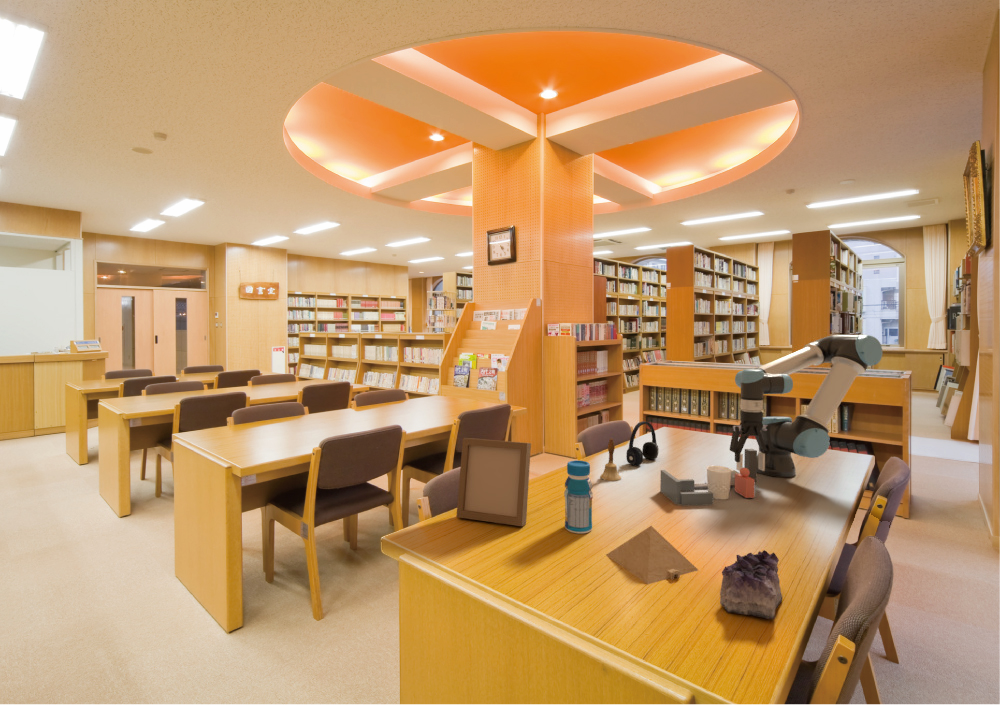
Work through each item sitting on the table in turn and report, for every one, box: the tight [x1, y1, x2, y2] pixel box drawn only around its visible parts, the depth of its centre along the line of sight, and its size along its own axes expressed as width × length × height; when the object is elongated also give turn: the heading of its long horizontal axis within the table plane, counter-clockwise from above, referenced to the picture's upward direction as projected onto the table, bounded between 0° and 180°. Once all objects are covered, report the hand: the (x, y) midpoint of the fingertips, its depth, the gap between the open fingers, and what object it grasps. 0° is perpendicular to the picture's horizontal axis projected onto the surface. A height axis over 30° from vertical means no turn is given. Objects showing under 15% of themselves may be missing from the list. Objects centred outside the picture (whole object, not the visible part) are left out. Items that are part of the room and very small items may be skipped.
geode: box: [719, 549, 783, 620], centre depth 105 cm, size 20×12×10 cm, turn 141°
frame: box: [659, 469, 714, 507], centre depth 168 cm, size 12×15×8 cm
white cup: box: [706, 465, 732, 500], centre depth 169 cm, size 8×8×10 cm
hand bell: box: [600, 438, 622, 482], centre depth 191 cm, size 8×8×16 cm
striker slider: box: [730, 448, 758, 499], centre depth 174 cm, size 12×15×14 cm
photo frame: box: [456, 437, 532, 527], centre depth 153 cm, size 15×22×25 cm
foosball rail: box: [694, 483, 735, 490], centre depth 179 cm, size 30×3×1 cm, turn 94°
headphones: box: [626, 421, 659, 467], centre depth 213 cm, size 20×7×18 cm, turn 133°
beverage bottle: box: [563, 459, 594, 535], centre depth 142 cm, size 8×8×20 cm
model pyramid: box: [605, 525, 699, 585], centre depth 121 cm, size 17×17×10 cm
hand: (750, 470), depth 179 cm, fingers open, 8 cm apart
